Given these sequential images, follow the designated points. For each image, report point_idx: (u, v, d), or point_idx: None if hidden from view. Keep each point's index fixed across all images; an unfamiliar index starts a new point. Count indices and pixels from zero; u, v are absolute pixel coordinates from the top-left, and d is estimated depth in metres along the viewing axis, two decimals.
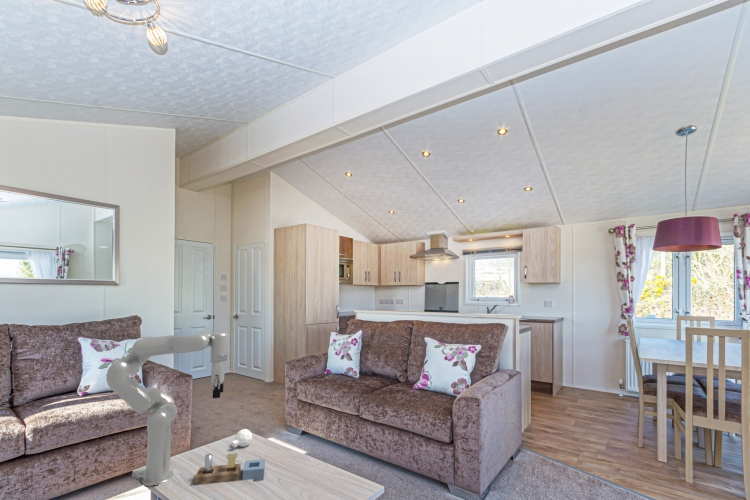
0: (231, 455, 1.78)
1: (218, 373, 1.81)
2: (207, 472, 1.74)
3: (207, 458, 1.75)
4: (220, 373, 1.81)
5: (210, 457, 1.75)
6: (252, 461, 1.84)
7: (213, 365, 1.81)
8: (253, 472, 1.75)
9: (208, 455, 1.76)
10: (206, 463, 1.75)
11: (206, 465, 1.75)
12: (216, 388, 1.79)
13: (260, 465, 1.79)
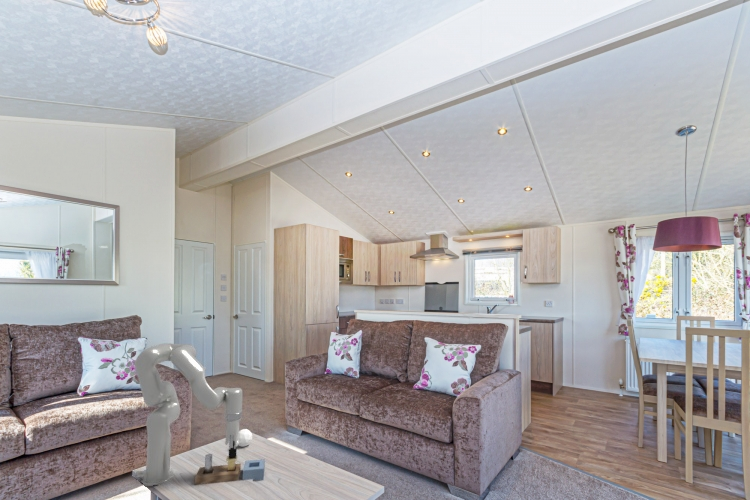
0: None
1: (233, 433, 1.75)
2: (207, 472, 1.74)
3: (207, 458, 1.75)
4: (235, 433, 1.75)
5: (210, 457, 1.75)
6: (252, 461, 1.84)
7: (228, 424, 1.75)
8: (253, 472, 1.75)
9: (208, 455, 1.76)
10: (206, 463, 1.75)
11: (206, 465, 1.75)
12: (232, 448, 1.77)
13: (260, 465, 1.79)
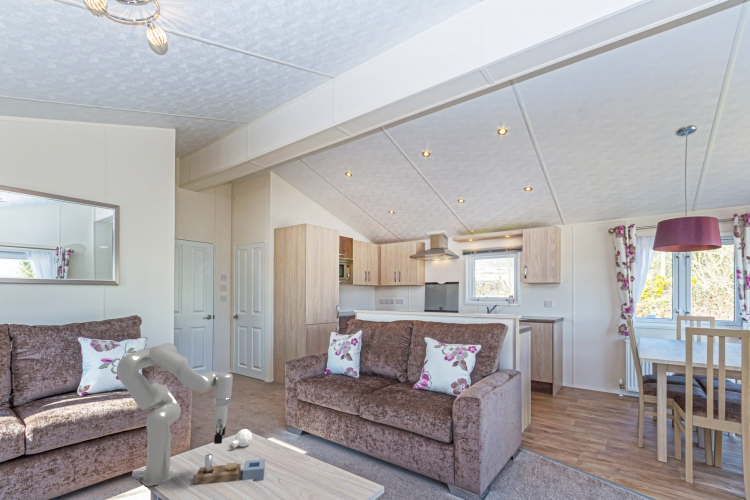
0: (231, 464, 1.78)
1: (221, 417, 1.75)
2: (207, 472, 1.74)
3: (207, 458, 1.75)
4: (223, 417, 1.75)
5: (210, 457, 1.75)
6: (252, 461, 1.84)
7: (216, 409, 1.75)
8: (253, 472, 1.75)
9: (208, 455, 1.76)
10: (206, 463, 1.75)
11: (206, 465, 1.75)
12: (218, 434, 1.72)
13: (260, 465, 1.79)
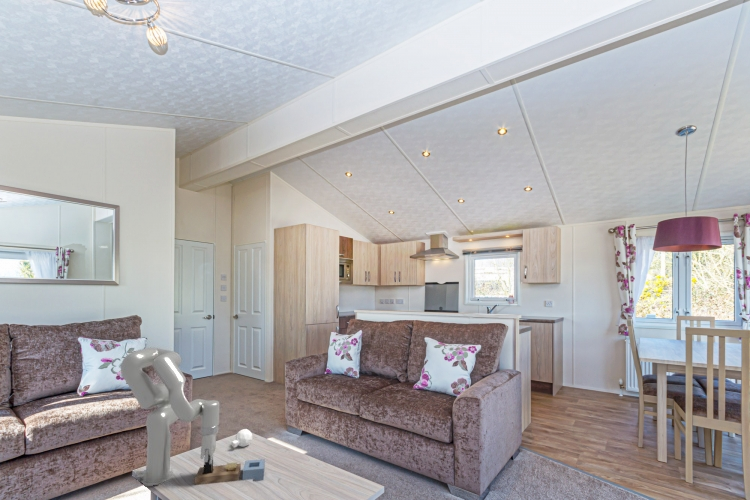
0: (231, 464, 1.78)
1: (208, 447, 1.72)
2: None
3: None
4: (210, 447, 1.73)
5: None
6: (252, 461, 1.84)
7: (203, 438, 1.73)
8: (253, 472, 1.75)
9: None
10: None
11: None
12: (207, 463, 1.73)
13: (260, 465, 1.79)
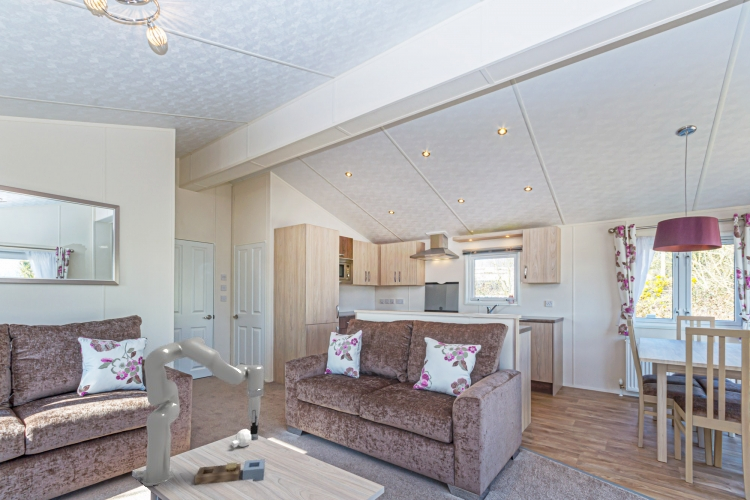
0: (231, 464, 1.78)
1: (255, 408, 1.78)
2: None
3: None
4: (257, 408, 1.78)
5: None
6: (252, 461, 1.84)
7: (250, 400, 1.78)
8: (253, 472, 1.75)
9: None
10: None
11: None
12: (254, 424, 1.79)
13: (260, 465, 1.79)
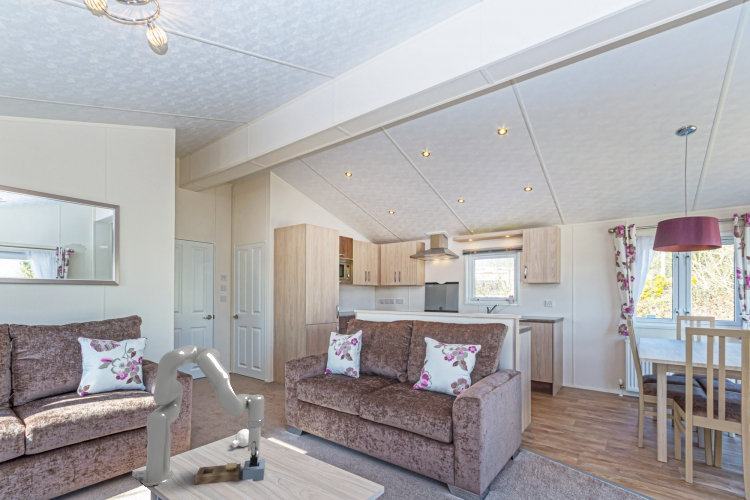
0: (231, 464, 1.78)
1: (255, 439, 1.77)
2: None
3: None
4: (257, 439, 1.77)
5: (257, 452, 1.80)
6: None
7: (250, 431, 1.77)
8: (253, 472, 1.75)
9: None
10: None
11: None
12: (254, 456, 1.75)
13: (260, 465, 1.79)
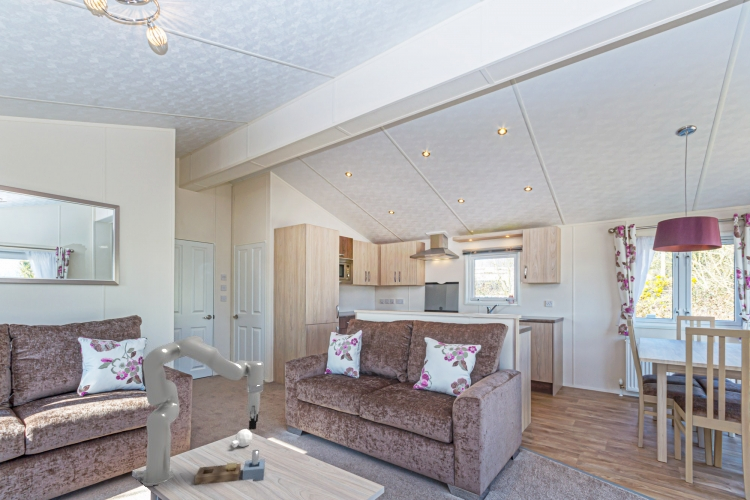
0: (231, 464, 1.78)
1: (255, 404, 1.79)
2: None
3: (254, 454, 1.79)
4: (256, 404, 1.79)
5: (257, 453, 1.80)
6: None
7: (250, 395, 1.79)
8: (253, 472, 1.75)
9: (255, 451, 1.81)
10: (253, 458, 1.79)
11: (253, 460, 1.79)
12: (253, 419, 1.77)
13: (260, 465, 1.79)
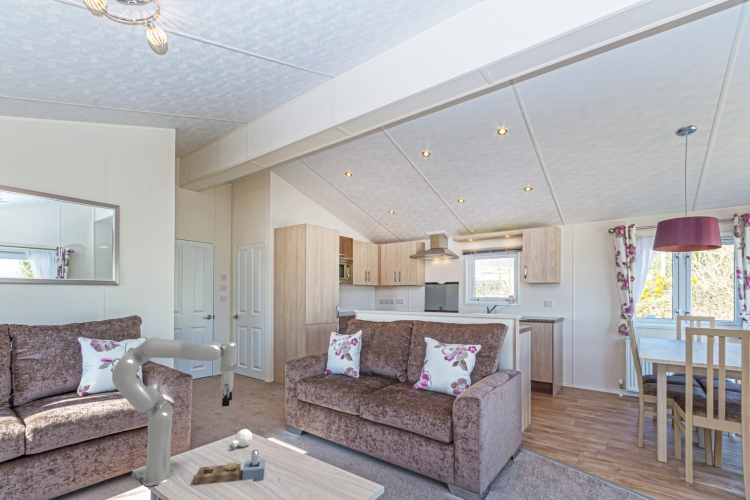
0: (231, 464, 1.78)
1: (227, 382, 1.87)
2: None
3: (253, 454, 1.79)
4: (229, 382, 1.88)
5: (256, 453, 1.80)
6: None
7: (223, 374, 1.88)
8: (253, 472, 1.75)
9: (254, 451, 1.81)
10: (252, 459, 1.79)
11: (253, 461, 1.79)
12: (225, 396, 1.85)
13: (260, 465, 1.79)
